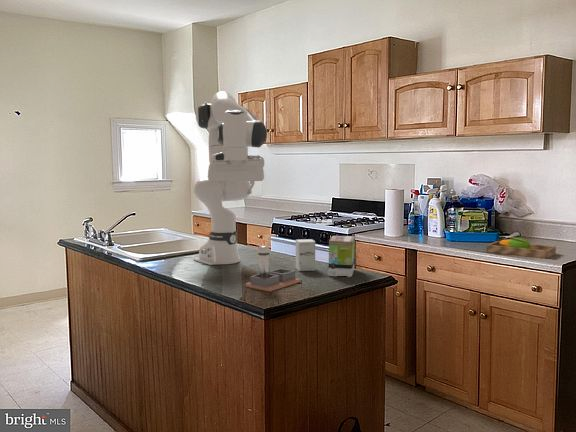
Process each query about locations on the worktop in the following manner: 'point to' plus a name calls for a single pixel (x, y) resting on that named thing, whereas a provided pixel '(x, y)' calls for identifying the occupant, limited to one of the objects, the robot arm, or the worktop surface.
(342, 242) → the tea box
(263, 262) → the grey capped bottle
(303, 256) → the supplement box
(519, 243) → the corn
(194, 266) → the worktop surface
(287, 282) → the grey double cup holder
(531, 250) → the wooden tray
